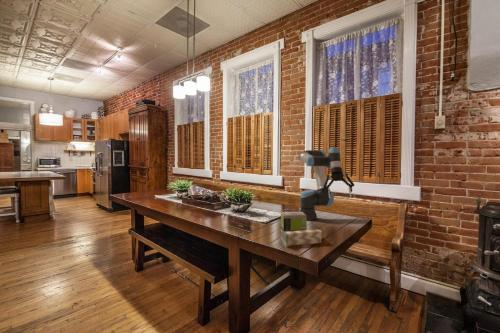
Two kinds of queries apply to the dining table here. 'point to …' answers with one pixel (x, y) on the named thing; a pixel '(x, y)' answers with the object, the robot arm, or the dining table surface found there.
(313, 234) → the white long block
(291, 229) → the tea box
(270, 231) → the dining table surface
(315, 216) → the robot arm
